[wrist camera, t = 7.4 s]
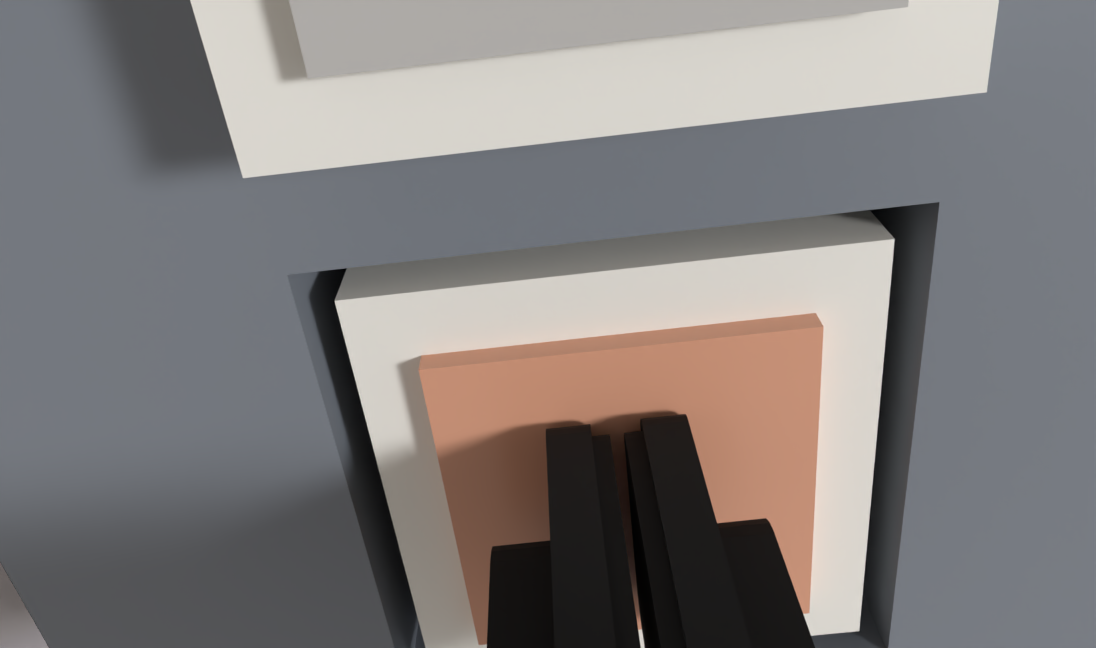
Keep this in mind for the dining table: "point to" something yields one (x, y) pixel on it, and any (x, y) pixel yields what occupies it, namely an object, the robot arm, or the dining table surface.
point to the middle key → (562, 69)
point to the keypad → (489, 226)
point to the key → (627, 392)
